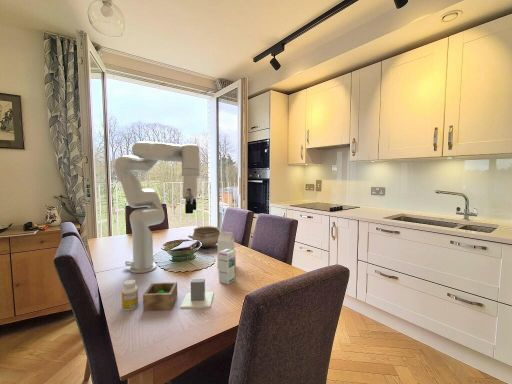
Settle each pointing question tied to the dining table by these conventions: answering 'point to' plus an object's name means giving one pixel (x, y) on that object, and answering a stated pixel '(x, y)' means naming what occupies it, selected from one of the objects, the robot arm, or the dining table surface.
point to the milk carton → (225, 242)
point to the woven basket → (206, 236)
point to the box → (160, 296)
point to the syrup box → (227, 266)
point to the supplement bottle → (129, 295)
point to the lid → (197, 296)
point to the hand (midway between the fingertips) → (191, 211)
